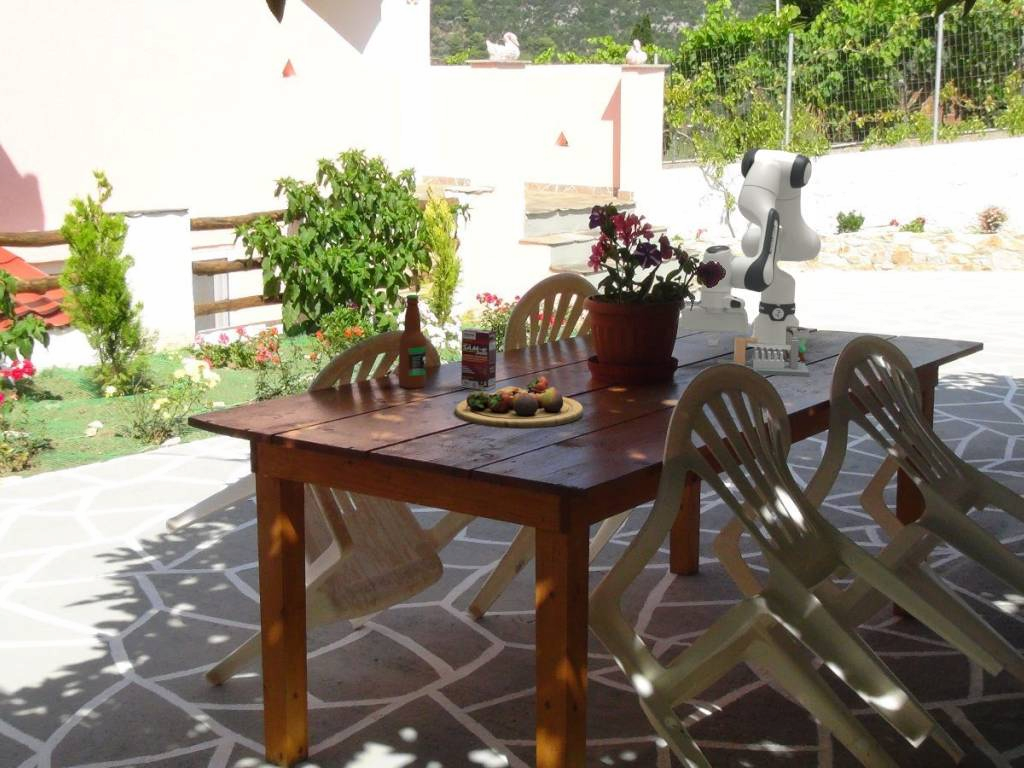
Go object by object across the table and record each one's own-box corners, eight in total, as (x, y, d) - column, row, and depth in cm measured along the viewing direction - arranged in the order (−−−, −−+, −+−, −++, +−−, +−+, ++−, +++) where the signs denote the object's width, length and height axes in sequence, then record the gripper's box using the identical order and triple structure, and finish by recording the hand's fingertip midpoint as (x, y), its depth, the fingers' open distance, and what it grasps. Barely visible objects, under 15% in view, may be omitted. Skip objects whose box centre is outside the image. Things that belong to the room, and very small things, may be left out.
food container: (811, 364, 395) (813, 332, 393) (791, 363, 395) (793, 331, 393) (803, 357, 407) (805, 326, 405) (784, 356, 407) (786, 325, 405)
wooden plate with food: (510, 396, 342) (510, 365, 340) (608, 412, 322) (609, 380, 320) (428, 418, 317) (428, 385, 316) (529, 437, 298) (529, 402, 296)
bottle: (417, 389, 346) (417, 297, 341) (394, 387, 349) (393, 296, 344) (430, 385, 352) (430, 294, 347) (407, 382, 355) (407, 293, 350)
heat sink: (717, 363, 393) (719, 332, 392) (804, 366, 390) (806, 335, 388) (719, 372, 378) (720, 340, 376) (809, 376, 375) (811, 344, 373)
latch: (733, 361, 388) (734, 336, 386) (755, 362, 387) (756, 337, 385) (734, 365, 382) (735, 339, 380) (756, 366, 381) (757, 340, 380)
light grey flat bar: (746, 345, 385) (746, 340, 384) (796, 349, 383) (796, 344, 383) (746, 346, 382) (747, 342, 382) (796, 351, 380) (797, 346, 380)
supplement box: (460, 387, 350) (460, 330, 347) (469, 384, 354) (469, 327, 351) (488, 390, 346) (488, 332, 343) (496, 387, 350) (497, 330, 347)
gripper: (680, 300, 380) (678, 346, 383) (750, 303, 378) (747, 349, 380) (680, 298, 386) (678, 343, 389) (749, 300, 384) (746, 345, 386)
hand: (713, 346), depth 385 cm, fingers closed
